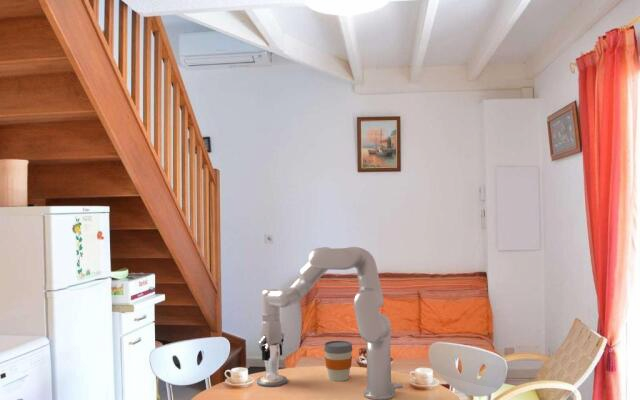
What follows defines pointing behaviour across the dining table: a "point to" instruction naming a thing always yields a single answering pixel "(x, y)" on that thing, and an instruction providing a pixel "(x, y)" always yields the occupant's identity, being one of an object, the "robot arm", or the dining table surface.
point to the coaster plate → (266, 383)
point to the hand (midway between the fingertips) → (272, 357)
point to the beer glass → (272, 363)
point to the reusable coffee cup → (338, 359)
